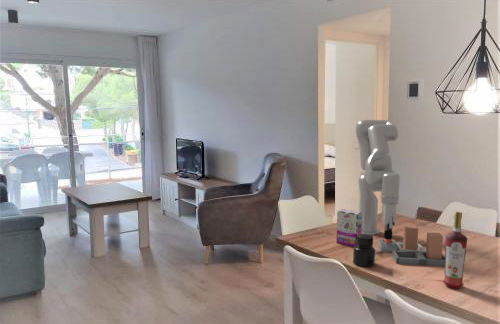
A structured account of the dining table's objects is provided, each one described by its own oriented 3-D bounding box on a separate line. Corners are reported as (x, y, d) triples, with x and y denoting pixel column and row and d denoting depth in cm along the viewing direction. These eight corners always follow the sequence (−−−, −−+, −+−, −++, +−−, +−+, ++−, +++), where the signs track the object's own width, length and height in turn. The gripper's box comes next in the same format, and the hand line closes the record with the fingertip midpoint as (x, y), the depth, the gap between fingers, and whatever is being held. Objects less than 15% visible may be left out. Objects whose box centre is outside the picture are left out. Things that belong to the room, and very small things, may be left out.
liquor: (442, 288, 155) (447, 213, 152) (441, 281, 162) (446, 209, 159) (465, 291, 153) (470, 215, 149) (462, 284, 160) (468, 211, 156)
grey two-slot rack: (396, 265, 178) (397, 258, 178) (392, 257, 188) (392, 250, 188) (449, 268, 175) (449, 260, 175) (441, 260, 185) (442, 253, 185)
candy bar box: (361, 245, 204) (363, 212, 202) (356, 248, 201) (357, 214, 199) (341, 240, 212) (342, 208, 210) (335, 243, 208) (337, 210, 206)
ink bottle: (379, 265, 179) (381, 237, 177) (365, 269, 174) (366, 240, 172) (362, 258, 187) (363, 231, 185) (347, 262, 182) (348, 235, 180)
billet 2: (428, 263, 179) (430, 235, 177) (425, 259, 184) (427, 232, 182) (441, 264, 178) (442, 236, 177) (437, 259, 183) (439, 233, 182)
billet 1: (405, 253, 194) (406, 227, 192) (402, 250, 199) (404, 225, 197) (416, 254, 193) (418, 228, 192) (414, 250, 198) (415, 225, 196)
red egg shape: (384, 248, 196) (385, 239, 195) (383, 246, 199) (384, 237, 198) (391, 249, 195) (391, 239, 195) (390, 247, 198) (390, 237, 198)
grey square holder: (380, 252, 194) (381, 243, 194) (378, 248, 201) (378, 238, 201) (396, 253, 193) (397, 244, 193) (393, 248, 200) (394, 239, 200)
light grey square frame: (399, 255, 191) (400, 249, 191) (395, 247, 202) (395, 242, 202) (425, 256, 190) (425, 251, 189) (419, 248, 200) (419, 243, 200)
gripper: (378, 196, 202) (377, 233, 204) (384, 203, 187) (382, 243, 190) (395, 196, 201) (393, 234, 203) (401, 203, 186) (399, 244, 189)
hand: (388, 238), depth 196 cm, fingers closed
